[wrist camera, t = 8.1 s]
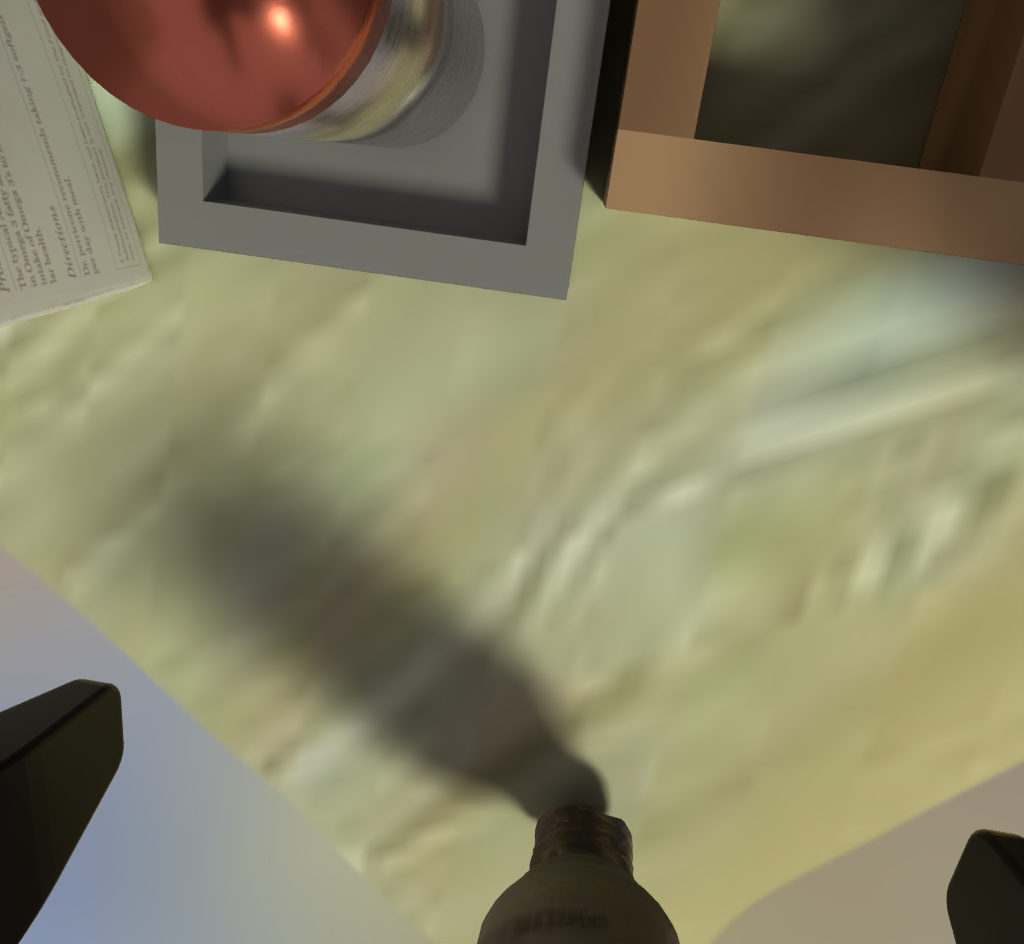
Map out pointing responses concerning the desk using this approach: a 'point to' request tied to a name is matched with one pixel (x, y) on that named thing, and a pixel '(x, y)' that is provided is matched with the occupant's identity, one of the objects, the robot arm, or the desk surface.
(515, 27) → the tray
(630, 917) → the light bulb
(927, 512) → the desk surface
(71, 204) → the supplement box
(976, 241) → the socket block
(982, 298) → the desk surface
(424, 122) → the grey and red cylinder
